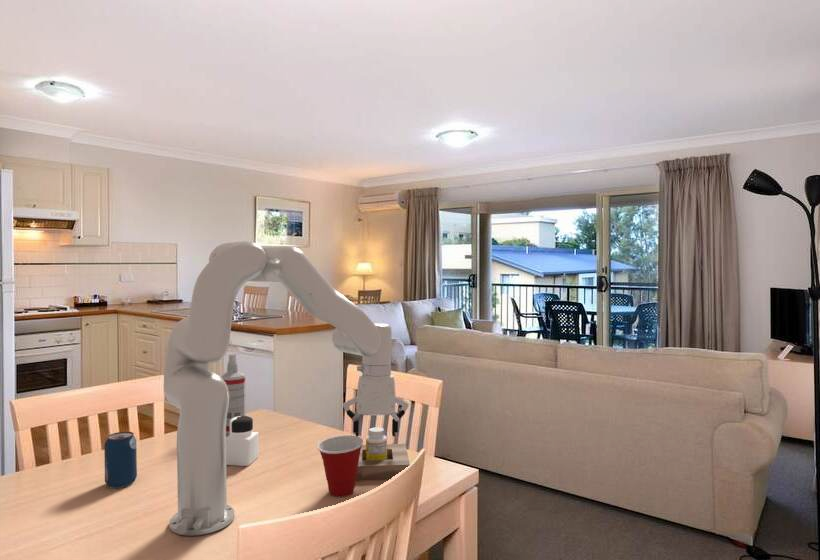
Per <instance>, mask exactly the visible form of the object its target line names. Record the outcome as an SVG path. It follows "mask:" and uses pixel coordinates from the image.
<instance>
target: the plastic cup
mask: <svg viewBox="0 0 820 560" xmlns="http://www.w3.org/2000/svg"><path fill="white" fill-rule="evenodd" d="M363 443H364V440H363V438H361V437H360V436H359V435H358V436H356V435H345V434H344V435H337V436H332V437H329V438H326V439H324V440H321V441H320V442H318V444H317V450H318V451H319V453H320V455H321V459H322V464H323V467H324V473H325V478H326V482H327V487H328V492H329V495H331V496H333V495H334V496H333V497H337V496H340V497H339V498H341V497H347V496H350V495H352V494H353V493H354V491H355V487H356V481H357V480H356V477H357V470H358V463H359V456H360V451H361V446H362V445H364V444H363Z"/></svg>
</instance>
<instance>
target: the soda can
mask: <svg viewBox="0 0 820 560" xmlns="http://www.w3.org/2000/svg"><path fill="white" fill-rule="evenodd" d="M134 434H135V433H134V432H133V431H117V432H113V433H111V434H108V435H107V436H106V438H107V439H106V440H105V442H104V448H103V449H104V451H103V452H104V483H105V485H106V486H107V487H108V488H110V487H111V488H110V489H121V488H120V487H122V488H126V487H129V486H131V485H133V484H134V482H135V481H136V478H137V477H138V465H137V464H138V463H137V462H138V460H137V458H138V456H137V454H138V453H137V450H138V449H137V439H136V437H135V435H134ZM128 485H129V486H128ZM125 486H126V487H125Z"/></svg>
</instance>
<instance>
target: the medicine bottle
mask: <svg viewBox="0 0 820 560" xmlns="http://www.w3.org/2000/svg"><path fill="white" fill-rule="evenodd" d="M253 422H254V420H253V417H252V416H247V415H246V416H238V417H234V418H232V419H231V420H230V434H228V435H227V436H226V466H237V467H238V466H239V467H240V466H241V467H249V466H250V465H251V464H252V463H254V462H255V461H256V460H257V459H258V458H259V456H260V455H259V454H260V451H259V446H260V445H259V443H260V442H259V440H260V439H259V432H258V431H253V430H254V429H253V428H254V427H253V426H254V424H253Z"/></svg>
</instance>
